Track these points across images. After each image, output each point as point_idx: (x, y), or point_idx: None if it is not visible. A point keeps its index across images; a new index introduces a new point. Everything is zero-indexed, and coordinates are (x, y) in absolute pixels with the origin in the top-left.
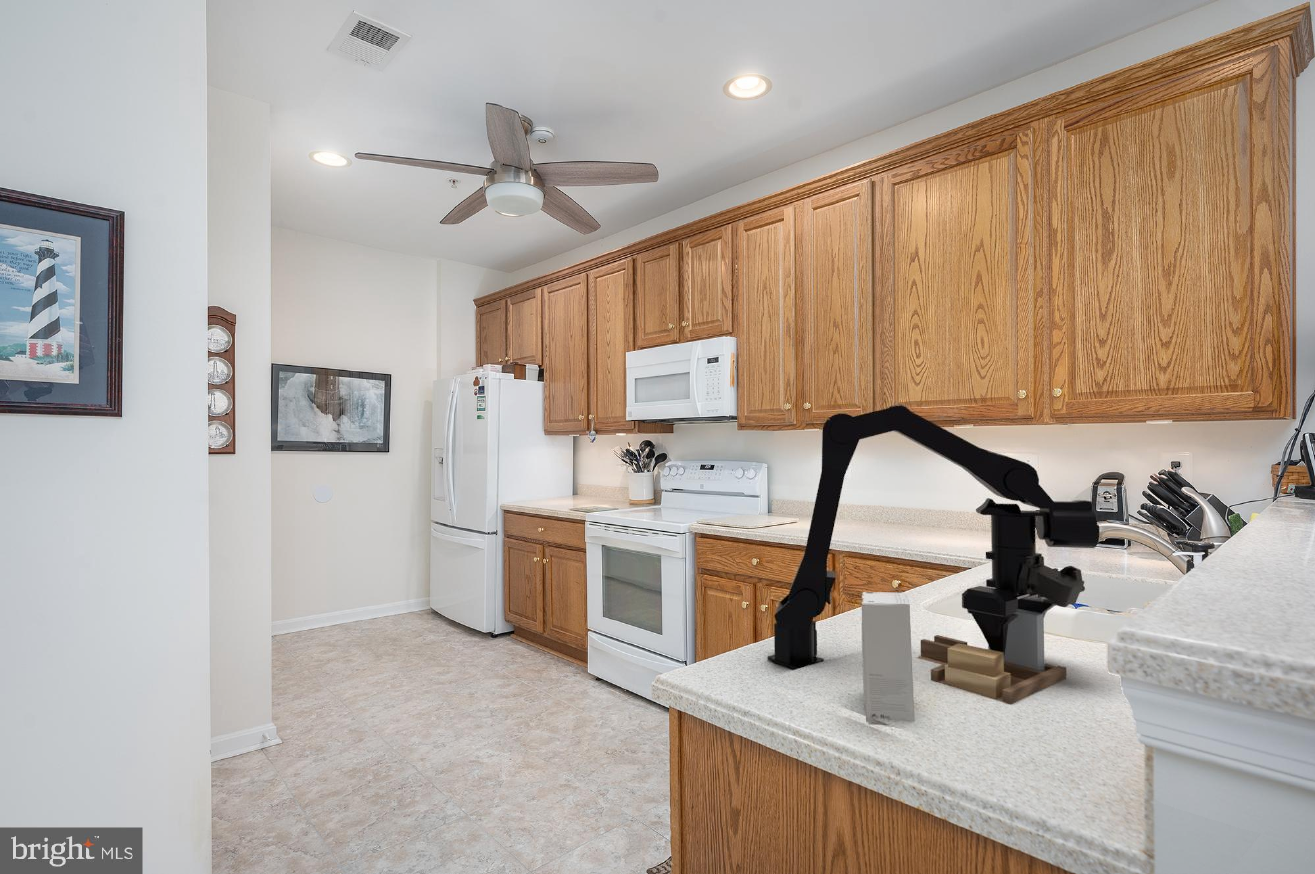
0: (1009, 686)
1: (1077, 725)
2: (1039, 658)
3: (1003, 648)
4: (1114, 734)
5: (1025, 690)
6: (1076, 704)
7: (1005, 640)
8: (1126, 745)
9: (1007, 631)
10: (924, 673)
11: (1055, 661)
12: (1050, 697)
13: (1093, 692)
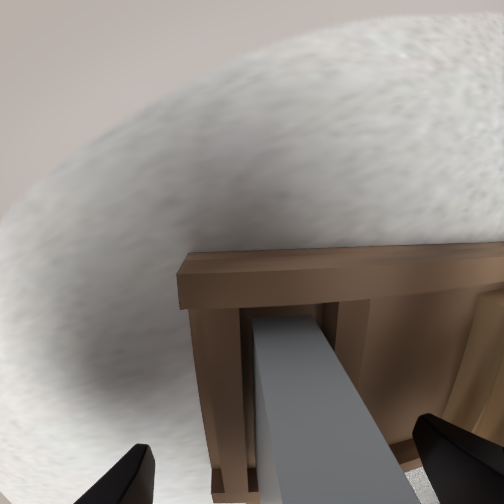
0: (495, 298)
1: (492, 101)
2: (319, 360)
3: (463, 430)
4: (470, 32)
5: (500, 252)
6: (372, 140)
7: (478, 449)
8: (489, 17)
9: (501, 472)
10: None
11: (11, 369)
12: (375, 226)
13: (184, 151)
